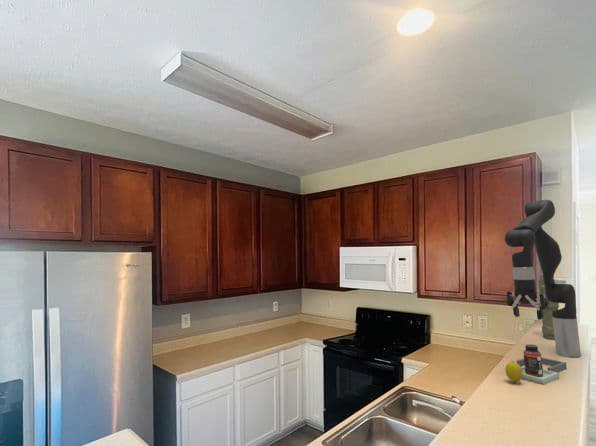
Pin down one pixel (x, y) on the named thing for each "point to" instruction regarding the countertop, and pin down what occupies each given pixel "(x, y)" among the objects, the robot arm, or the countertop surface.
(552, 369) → the holder
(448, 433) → the countertop surface
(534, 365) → the supplement bottle
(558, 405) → the countertop surface
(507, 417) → the countertop surface
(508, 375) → the lemon
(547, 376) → the tray
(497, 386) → the countertop surface
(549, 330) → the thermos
